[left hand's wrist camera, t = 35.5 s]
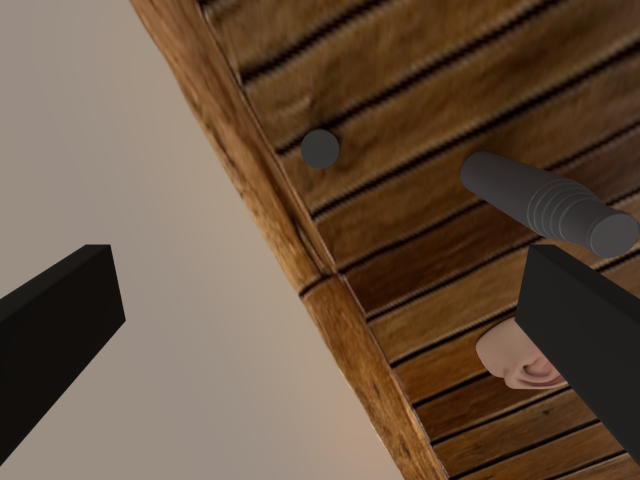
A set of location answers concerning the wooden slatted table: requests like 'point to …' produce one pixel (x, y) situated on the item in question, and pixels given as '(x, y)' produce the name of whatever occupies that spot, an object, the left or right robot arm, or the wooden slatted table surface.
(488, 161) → the bottle
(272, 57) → the wooden slatted table surface
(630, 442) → the left robot arm
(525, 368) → the anatomical model
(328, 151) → the cap
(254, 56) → the wooden slatted table surface
